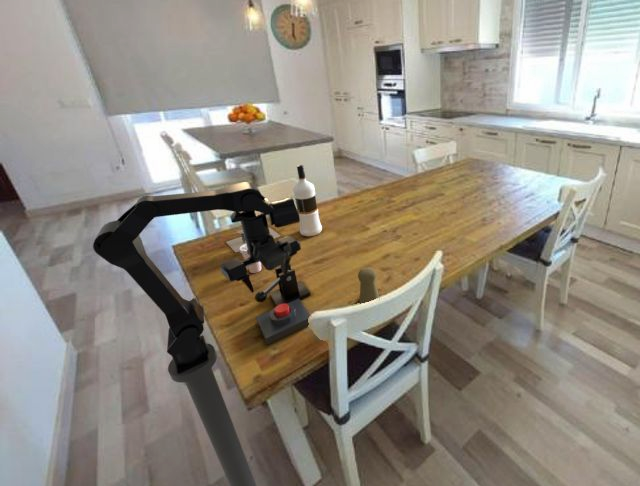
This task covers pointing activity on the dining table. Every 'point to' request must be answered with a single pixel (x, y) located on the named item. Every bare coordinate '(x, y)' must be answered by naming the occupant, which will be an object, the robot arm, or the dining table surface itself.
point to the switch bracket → (288, 288)
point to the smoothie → (243, 250)
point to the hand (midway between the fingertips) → (269, 283)
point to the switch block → (283, 322)
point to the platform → (240, 241)
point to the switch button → (282, 310)
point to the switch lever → (266, 291)
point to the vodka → (306, 205)
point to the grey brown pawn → (367, 285)
